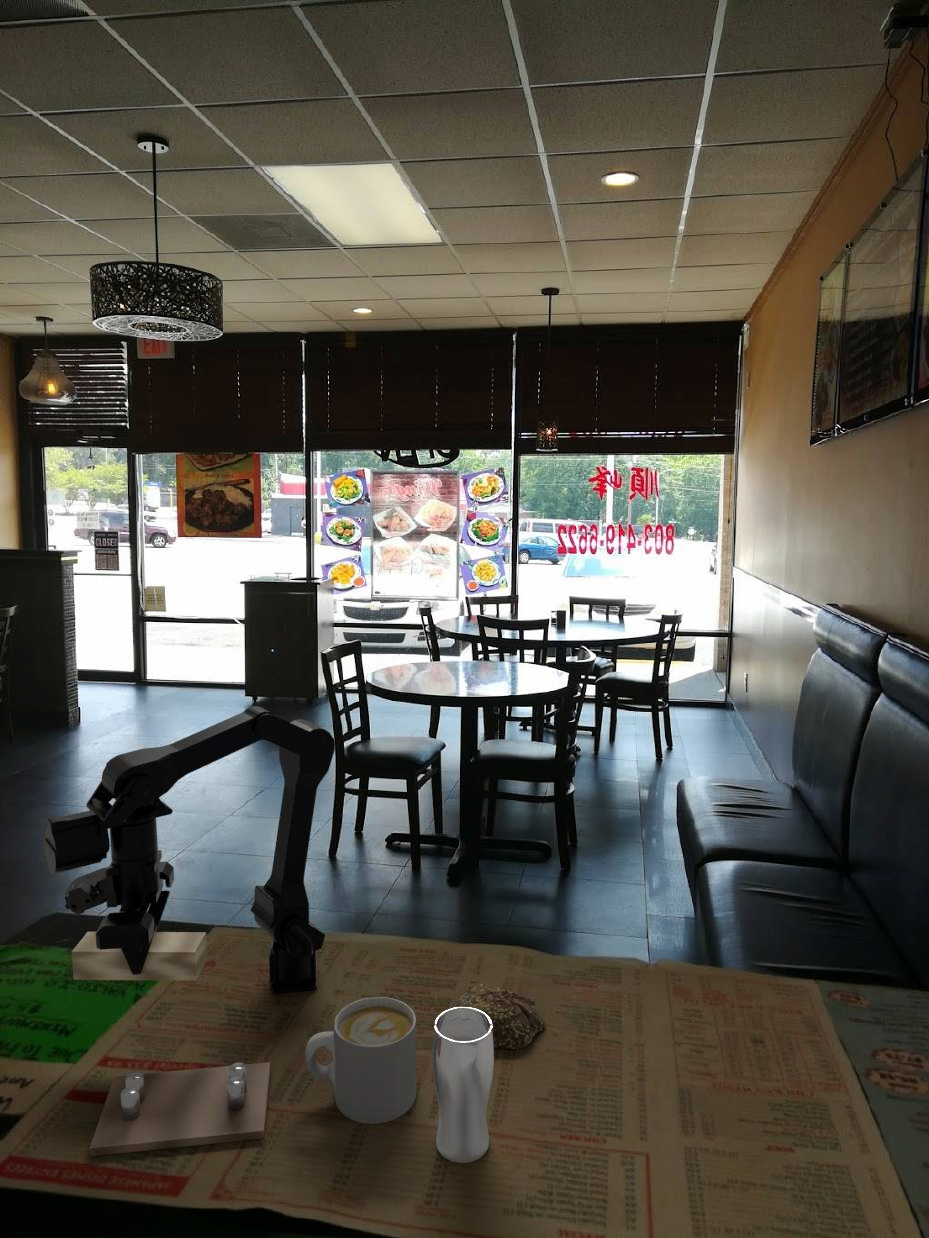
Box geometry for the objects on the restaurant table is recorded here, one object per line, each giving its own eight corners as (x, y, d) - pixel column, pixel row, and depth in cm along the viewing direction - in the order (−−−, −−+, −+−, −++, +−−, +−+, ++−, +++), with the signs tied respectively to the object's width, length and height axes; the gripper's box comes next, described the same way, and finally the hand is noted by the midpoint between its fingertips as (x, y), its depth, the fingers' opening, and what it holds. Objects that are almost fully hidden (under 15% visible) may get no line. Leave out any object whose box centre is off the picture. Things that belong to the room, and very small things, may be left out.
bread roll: (437, 1039, 120) (437, 1006, 119) (471, 990, 132) (471, 960, 131) (527, 1064, 115) (528, 1029, 115) (554, 1011, 127) (555, 979, 126)
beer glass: (487, 1171, 97) (488, 1047, 95) (425, 1161, 99) (425, 1039, 96) (497, 1126, 104) (499, 1009, 102) (439, 1117, 105) (440, 1001, 103)
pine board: (207, 959, 121) (205, 932, 120) (196, 980, 116) (194, 952, 115) (89, 958, 121) (87, 931, 120) (73, 979, 116) (71, 951, 115)
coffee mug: (424, 1072, 113) (423, 1001, 112) (405, 1128, 104) (405, 1051, 102) (323, 1060, 115) (321, 989, 114) (296, 1114, 106) (294, 1038, 104)
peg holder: (270, 1069, 114) (269, 1040, 113) (263, 1138, 102) (262, 1107, 101) (115, 1083, 111) (113, 1054, 110) (89, 1156, 99) (87, 1124, 98)
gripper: (89, 826, 123) (96, 930, 126) (46, 888, 105) (56, 1008, 108) (172, 822, 125) (177, 925, 128) (144, 883, 107) (151, 1001, 109)
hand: (141, 962), depth 118 cm, fingers closed on pine board, 5 cm apart
